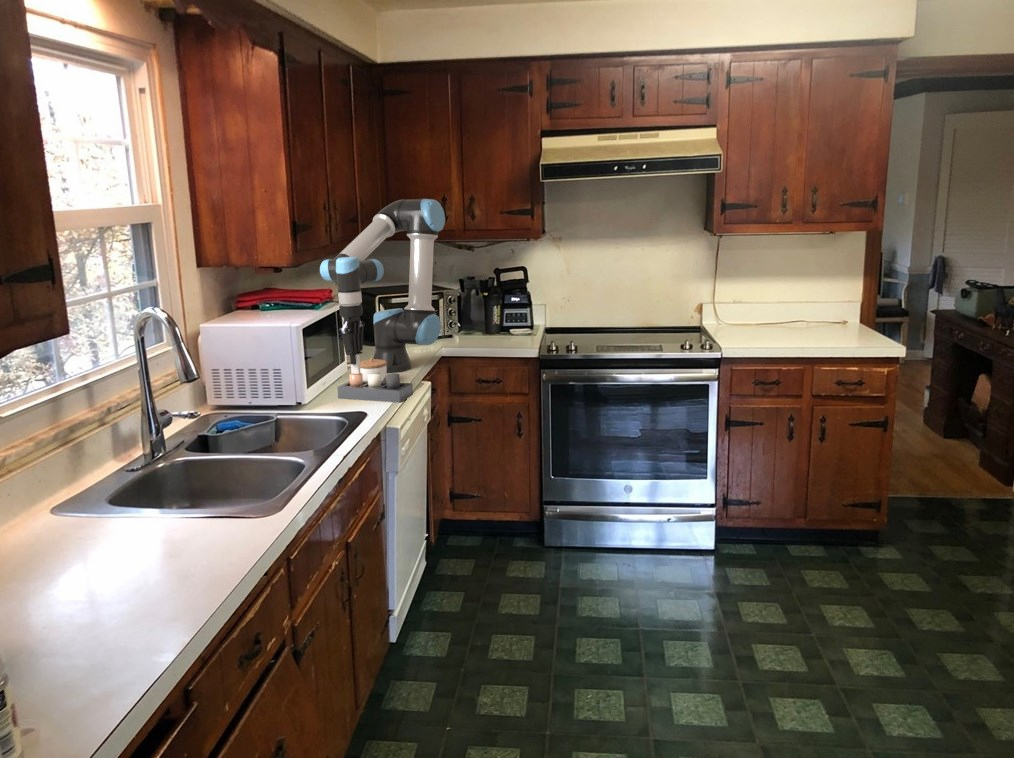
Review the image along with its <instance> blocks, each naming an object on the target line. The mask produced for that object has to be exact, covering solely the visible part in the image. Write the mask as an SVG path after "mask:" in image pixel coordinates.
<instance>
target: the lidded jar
mask: <svg viewBox="0 0 1014 758" xmlns="http://www.w3.org/2000/svg"><path fill="white" fill-rule="evenodd" d="M373 358H374V357H370V358H369V359H364V360H360V371H361V373H362V376H363V381H368V374H370V373H380V374H381V382H384V380H385V379H386V375H387V373H386V372H387V362H386V361H385V360H380V359H373Z"/></svg>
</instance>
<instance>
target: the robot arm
mask: <svg viewBox="0 0 1014 758" xmlns="http://www.w3.org/2000/svg"><path fill="white" fill-rule="evenodd" d="M445 223H446V215H445V211H444V208H443V207H442V205H441V204H440V202H439V201H437V200H436V199H432V198H431V199H430V198H417V199H413V198H412V199H407V198H406V199H405V198H404V199H398V200H396V201H393V202H392V203H389V204H388V205H386V206H385V207H383V208H382V209H381V210H380V211H378V212H377V213H376V214H375V215H374V216H373V218H372V222H371V223H370V224H368V226H367V227H366V228H364V230H362V232H360V233H359V234H358V235H357V236H356V237H355V238H354V239H353V240H352V241H351V242H350V243H349V244H347V246H346V247H345V248H343V250H341V251H340V252H339V254H337V256H336V257H334V258H333V259H332V258H329V259H324V260H323V261H322V262H321V264H320V266H319V274H320V276H321V278H322V279H323V280H325V281H328V282H333V283H334V282H336V284H337V296H338V303H339V306H338V307H339V315H340V317H342V318H343V322H342V323H343V326H342V327H340V328H339V332H340V334H341V339H342V342H343V347H344V351H345V354H346V355H347V356H349V359H350V360H349V361H350V370H351V373H350V374H359V373H361V371H360V361H361V360H360V355H362V354H363V350H364V349H363V348H364V328H365V325H366V324H365V322H364V321H361V316H363V314H364V313H363V312H364V311H363V305H362V302H363V300H362V299H363V297H362V284H364V285H365V284H370V283H374V282H377V281H380V280H382V278H383V276H384V271H385V270H384V266H383V264H382V262H381V261H379V260H378V259H373V258H370V259H369V258H368V257H369V255H371V254H372V253H373V252H374V250H375V249H377V248H378V247H379V246H380V244H382V243H383V242H384V241H385V240H386V239H387V238H390V237H392V236H394V234H395V233H399V232H406V236H407V237H408V238H409V239H410V246H409V247H410V249H409V250H410V253H409V255H410V256H409V273H408V274H409V277H408V278H409V279H408V280H409V281H408V303H407V305H406V306H405V307H404V308H400V307H398V308H392V309H391V308H390V309H385V310H379V311H376V312H375V313H374V314H373V323H372V324H373V335H374V347H375V350H374V354H373V357H372V358H373V359H380V360H385V361H386V362H387V372H386V374H390V373H400V372H405V371H408V370H410V369H411V368H412V361H411V358H410V356H409V354H408V350H407V347H406V344H407V345H418V346H430V345H432V344H434V343H435V342H437V339H438V338H439V335H440V333H441V329H442V328H441V327H442V322H441V319H440V317H439V316H438V315H437V314H436V309H435V308H434V307H433V306H432V297H433V296H432V295H433V270H434V269H433V268H434V267H433V266H434V246H435V245H434V242H435V240H437V238H438V237H439V232H441V231H442V230H443V229H444V227H445ZM367 258H368V259H367Z"/></svg>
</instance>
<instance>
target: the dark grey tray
mask: <svg viewBox="0 0 1014 758" xmlns="http://www.w3.org/2000/svg"><path fill="white" fill-rule="evenodd" d="M381 385H382V386H381V387H379V388H374V387H368V381H363V385H362V386H360V387H358V386H350V380H349V381H347V382H344V383H343V384H340V385H338V386H336V387H337V398H338V399H342V400H359V401H369V402H370V401H374V402H375V401H376V402H384V403H385V402H388V403H401V402H403V401H405V400H407V399H408V398H410V397H412V396H413V394H414V392H413V391H414V390H413V383H408V382H400V388H399V389H390V388H387V381H382V382H381Z"/></svg>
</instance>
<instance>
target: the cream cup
mask: <svg viewBox="0 0 1014 758" xmlns="http://www.w3.org/2000/svg"><path fill="white" fill-rule="evenodd" d="M381 386H382V385H381V374H380V373H370V374H368V387H374V388H379V387H381Z"/></svg>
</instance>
